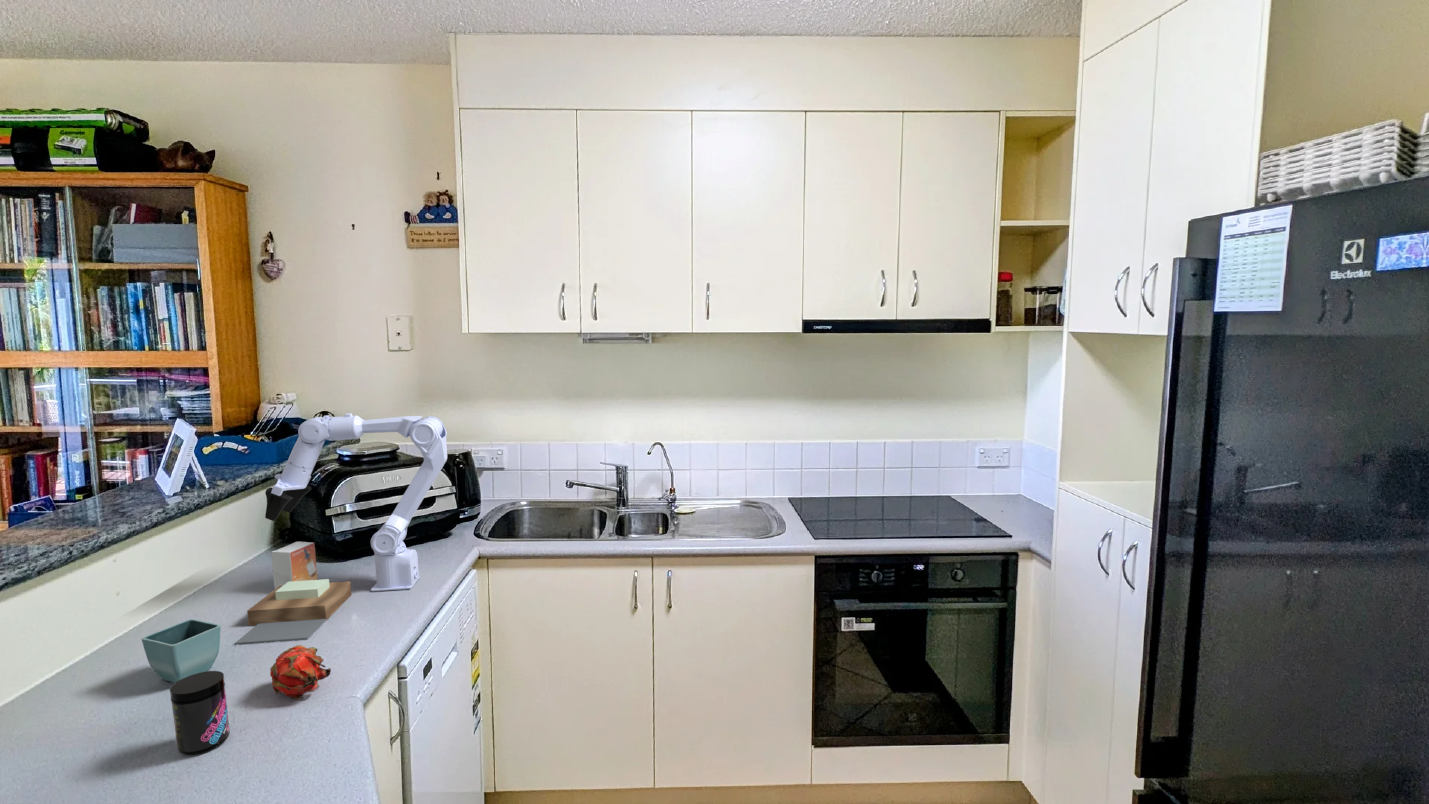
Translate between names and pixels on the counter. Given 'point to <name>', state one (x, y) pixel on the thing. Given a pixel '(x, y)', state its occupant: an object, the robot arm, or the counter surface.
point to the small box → (294, 563)
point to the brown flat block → (299, 606)
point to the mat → (281, 631)
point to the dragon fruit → (297, 671)
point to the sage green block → (302, 589)
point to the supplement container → (200, 712)
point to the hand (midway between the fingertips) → (278, 515)
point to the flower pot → (183, 649)
